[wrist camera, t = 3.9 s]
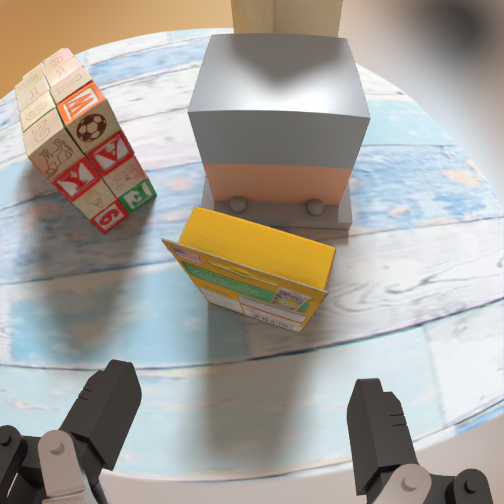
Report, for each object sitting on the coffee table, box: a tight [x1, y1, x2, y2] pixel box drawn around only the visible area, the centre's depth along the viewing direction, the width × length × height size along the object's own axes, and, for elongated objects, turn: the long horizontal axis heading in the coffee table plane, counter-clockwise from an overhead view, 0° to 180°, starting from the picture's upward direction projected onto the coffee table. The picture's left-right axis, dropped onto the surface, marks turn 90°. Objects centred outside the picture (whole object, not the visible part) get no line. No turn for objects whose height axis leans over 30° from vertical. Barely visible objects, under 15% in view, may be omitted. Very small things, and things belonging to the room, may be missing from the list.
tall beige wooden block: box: [231, 0, 343, 38], centre depth 22 cm, size 8×7×21 cm
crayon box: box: [161, 207, 336, 332], centre depth 18 cm, size 7×3×12 cm, turn 70°
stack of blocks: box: [15, 48, 157, 234], centre depth 24 cm, size 21×6×12 cm, turn 37°
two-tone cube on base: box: [188, 33, 371, 229], centre depth 22 cm, size 12×12×11 cm
